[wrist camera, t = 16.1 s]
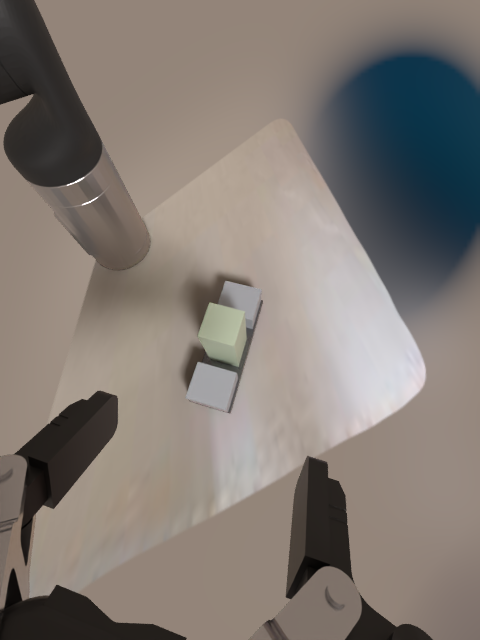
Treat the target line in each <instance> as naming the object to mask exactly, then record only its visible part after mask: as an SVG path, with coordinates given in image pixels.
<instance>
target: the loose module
mask: <svg viewBox="0 0 480 640" xmlns="http://www.w3.org/2000/svg"><path fill="white" fill-rule="evenodd" d="M198 338H199V340H200V342H201V344H202V346H203V347H204V349H205V351H206V353H207V355H208V357H209V358H210V359H212V360H216V361H219V362H223V363H226V364H230V365H233V366H237V367H239V363H240V360H241V357H242V353H243V350H244V347H245V343H246V340H247V336H246V320H245V311H242V310H238V309H234V308H230V307H226V306H222V305H218V304H214V303H210V302H209V305H208V308H207V311H206V313H205V316H204V319H203V322H202V325H201V328H200V330H199V333H198Z"/></svg>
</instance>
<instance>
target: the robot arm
mask: <svg viewBox="0 0 480 640" xmlns="http://www.w3.org/2000/svg"><path fill="white" fill-rule="evenodd" d="M31 94H34V95H33V97H32V99H31V100H30V102H29V103H28V104H27V105H26V107H25V108H24V109H22V110H21V111H20V112H19V114H17V115H16V117H15V118H14V119H13V120H12V121H11V123H10V124H9V126H8V128H7V130H6V132H5V136H4V150H5V153H6V155H7V157H8V159H9V160H10V162H11V163H12V165H13V166H14V167H15V168H16V169H17V170H18V172H19V173H20V174H21V175H22V176H23V177H24V178H25V179H26V180H27V182H28V183H29V184H30V185H31V186H32V187H33V188H34V189H35V191H36V192H37V193H38V194H39V195H40V196H41V197H42V198H43V199H44V201H45V202H46V203H47V204H48V205H49V206H50V208H51V209H52V210H53V211H54V215H55V217H56V218H57V220H58V221H59V222H60V223H61V224H62V225H63V226H64V227H65V229H66V230H67V231H68V232H69V233H70V234H71V235H72V236H73V237H74V239H75V240H76V241H77V242H78V243H79V244H80V245H81V246H82V248H83V249H84V250H85V251H86V252H87V253H88V254H89V255H92V256H93V257H94V258H95V259H96V260H97V261H98V262H99V263H100V264H101V265H102V266H104V267H106V268H109V269H112V270H121V269H126V268H130V267H132V266H134V265H136V264H137V263H139V262H140V261H141V260H142V259H143V258H144V257H145V256H146V254H147V252H148V250H149V247H150V235H149V233H148V231H147V229H146V227H145V225H144V223H143V221H142V219H141V217H140V215H139V213H138V211H137V209H136V207H135V205H134V203H133V201H132V199H131V197H130V195H129V193H128V191H127V189H126V187H125V185H124V183H123V181H122V180H121V178H120V176H119V174H118V172H117V170H116V168H115V166H114V164H113V162H112V160H111V158H110V157H109V154H108V152H107V150H106V148H105V146H104V144H103V142H102V140H101V139H100V137H99V135H98V133H97V131H96V129H95V127H94V125H93V123H92V121H91V120H90V118H89V116H88V114H87V112H86V110H85V108H84V106H83V104H82V103H81V101H80V98H79V96H78V94H77V92H76V90H75V88H74V86H73V84H72V82H71V80H70V78H69V76H68V74H67V72H66V69H65V67H64V65H63V63H62V61H61V58H60V56H59V54H58V52H57V49H56V47H55V45H54V43H53V41H52V39H51V36H50V34H49V32H48V29H47V27H46V25H45V23H44V20H43V18H42V16H41V14H40V12H39V10H38V8H37V5H36V3H35V1H34V0H0V104H3V103H6V102H9V101H13V100H16V99H19V98H22V97H25V96H28V95H31ZM117 424H118V398H117V396H116V395H112V394H109V393H106V392H103V391H97V392H96V393H95V394H94V395H92V396H91V397H90V398H89V399H88V400H84V399H81V400H79V401H77V402H75V403H73V404H71V405H69V406H68V407H67V408H66V409H65V410H63V411H62V412H61V413H60V414H59V416H58V417H56V418H54V419H53V420H52V421H51V422H50V424H48V425H47V426H45V427H44V428H43V429H42V430H41V431H40V432H39V433H38V434H37V435H36V436H34V437H33V438H32V439H31V440H30V441H29V442H28V443H26V444H25V445H24V446H23V447H22V448H21V449H20V450H19V451H17V452H16V453H15V454H13V455H4V456H0V640H186V638H185V637H183V636H181V635H178V634H176V633H173V632H170V631H168V630H166V629H164V628H161V627H159V626H156V625H154V624H135V623H116V622H113V621H112V620H111V619H110V618H109V617H108V616H106V615H105V614H104V613H103V612H102V611H101V610H100V609H99V608H98V607H97V606H96V605H95V604H94V603H93V602H92V601H91V600H90V599H88V598H87V597H86V596H83V595H81V594H78V593H76V592H73V591H71V590H69V589H66V588H64V587H61V586H59V585H56V587H55V588H54V590H53V591H52V593H51V594H50V596H38V597H33V598H29V595H30V584H29V573H30V563H31V554H32V546H33V537H34V529H35V520H36V513H37V511H38V510H39V509H40V508H41V507H42V506H43V505H45V506H47V507H50V508H53V509H54V508H55V507H56V505H57V504H58V503H59V502H60V501H61V499H62V498H63V497H64V496H65V494H66V493H67V492H68V491H69V490H70V488H71V487H72V486H73V485H74V483H75V482H76V481H77V480H78V479H79V477H80V476H81V475H82V474H83V472H84V471H85V470H86V469H87V467H88V466H89V465H90V464H91V463H92V461H93V460H94V459H95V458H96V456H97V455H98V454H99V453H100V452H101V450H102V449H103V448H104V447H105V445H106V444H107V443H108V442H109V440H110V439H111V438H112V437H113V435H114V433H115V431H116V428H117ZM286 598H289V599H291V600H290V601H289V602H288V603H287V604H286V606H285V607H284V608H283V609H282V610H281V611H280V612H279V613H278V614H277V615H276V616H275V617H274V618H273V619H272V620H268V621H267V622H265V623H264V624H263V625H262V626H261V627H260V628H259V629H258V630H257V631H256V632H255V633H254V634H253V636H251V637H250V639H249V640H432V639H431V637H430V636H428V634H426V633H425V632H424V631H423V630H421V629H420V628H418V627H416V626H413V625H411V624H402V625H400V626H398V627H396V626H395V625H393V624H392V623H391V622H389V621H388V620H387V619H385V618H384V617H383V616H381V615H380V614H379V613H377V612H376V611H375V610H374V609H372V608H371V607H370V606H369V605H368V604H367V603H366V602H365V601H364V599H363V598H362V596H361V595H360V593H359V592H358V590H357V588H356V586H355V583H354V581H353V578H352V572H351V561H350V549H349V537H348V525H347V513H346V500H345V494H344V492H343V490H342V488H341V485H340V483H339V481H336V480H333V479H330V478H328V464H327V462H325V461H322V460H319V459H316V458H313V457H309V456H307V458H306V460H305V463H304V465H303V468H302V471H301V474H300V476H299V479H298V482H297V485H296V489H295V494H294V504H293V516H292V528H291V540H290V551H289V564H288V576H287V589H286Z"/></svg>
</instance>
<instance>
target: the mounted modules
mask: <svg viewBox="0 0 480 640" xmlns="http://www.w3.org/2000/svg"><path fill="white" fill-rule="evenodd" d="M261 292H262V289H258V288H254V287H250V286H245V285H241V284H237V283H233V282H229V281H225V284H224V287H223V290H222V292H221V295H220V298H219V301H218V305H222V306H226V307H230V308H234V309H238V310H242V311H245V320H246V328H250V329H253V326H254V323H255V319H256V316H257V312H258V309H259V306H260V302H261ZM237 381H238V375H237V373H236V372H232V371H229V370H225V369H222V368H218V367H215V366H211V365H208V364H204V363H201V362H197V365H196V368H195V371H194V374H193V377H192V380H191V383H190V386H189V389H188V392H187V395H186V397H185V398H186V399H188V400H190V401H192V402H195V403H198V404H202V405H205V406H208V407H212V408H215V409H218V410H222V411H225V412H228V411H229V408H230V404H231V401H232V398H233V394H234V391H235V387H236V384H237Z"/></svg>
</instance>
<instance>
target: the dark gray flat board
mask: <svg viewBox="0 0 480 640" xmlns="http://www.w3.org/2000/svg"><path fill="white" fill-rule="evenodd" d="M262 304H263V301H262V300H261V302H260V306H259V309H258V312H257V316H256V319H255V323H254V326H253V329H250V328H246V336H247V340H246V343H245V347H244V350H243V353H242V357H241V360H240V363H239V367H237V366H233V365H230V364H226V363H223V362H219V361H216V360H212V359H210V358H209V357H208V355H207V353H206V352H205V355H204V358H203V361H202V363H204V364H208V365H211V366H215V367H218V368H222V369H225V370H229V371H232V372H236V373H237V375H238V381H237V384H236V387H235V391H234V394H233V398H232V401H231V404H230V408H229V411H228V412H227V413H230V414H231V410H232V407H233V404H234V400H235V397H236V393H237V390H238V386H239V383H240V379H241V376H242V373H243V369H244V366H245V362H246V359H247V355H248V352H249V348H250V345H251V342H252V338H253V335H254V331H255V328H256V324H257V321H258V317H259V314H260V311H261V307H262ZM189 401H190V400H189ZM190 402H192V401H190ZM194 403H195V402H194ZM197 404H198V403H197ZM200 405H202V404H200ZM204 406H205V405H204ZM207 407H208V406H207ZM210 408H212V407H210ZM214 409H215V408H214ZM217 410H218V409H217ZM220 411H222V410H220ZM223 412H225V411H223Z"/></svg>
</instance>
